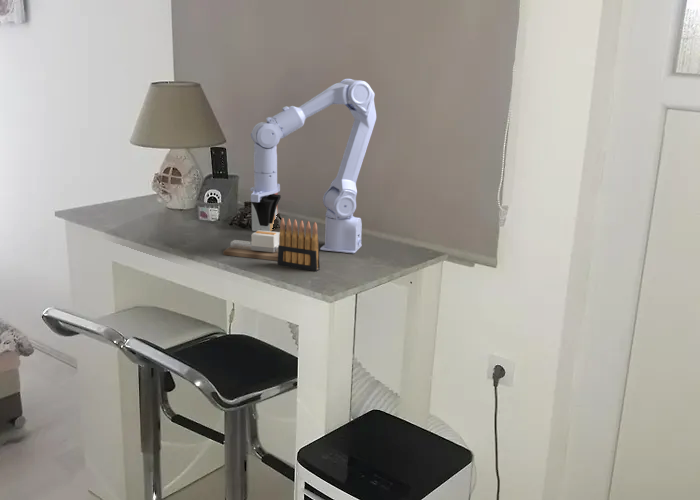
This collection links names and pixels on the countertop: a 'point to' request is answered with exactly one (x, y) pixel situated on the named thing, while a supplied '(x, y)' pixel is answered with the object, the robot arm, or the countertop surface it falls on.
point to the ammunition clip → (298, 246)
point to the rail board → (251, 254)
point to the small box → (255, 220)
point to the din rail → (245, 245)
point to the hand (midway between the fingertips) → (266, 224)
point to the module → (265, 240)
